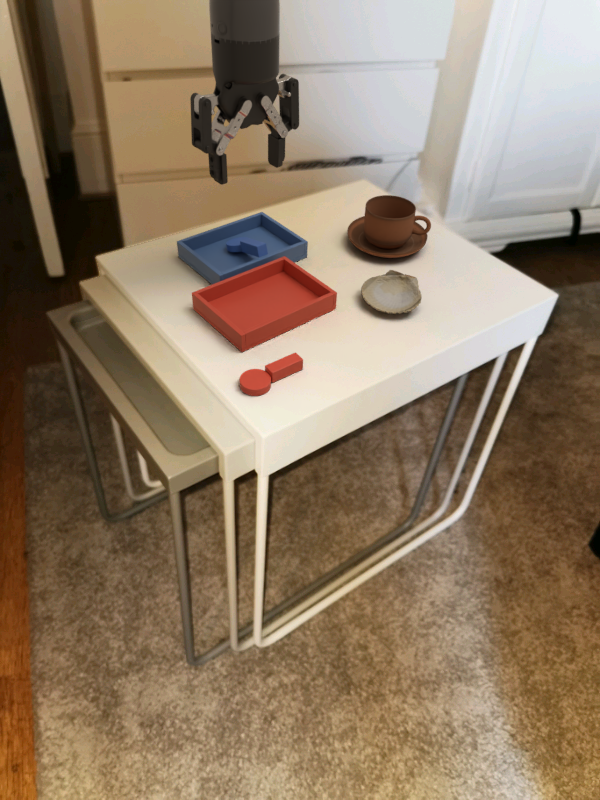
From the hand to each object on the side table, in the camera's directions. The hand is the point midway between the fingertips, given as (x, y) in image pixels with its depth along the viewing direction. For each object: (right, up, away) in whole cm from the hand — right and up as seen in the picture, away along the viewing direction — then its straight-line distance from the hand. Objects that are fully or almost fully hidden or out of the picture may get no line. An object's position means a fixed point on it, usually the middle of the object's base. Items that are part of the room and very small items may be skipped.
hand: (248, 173), depth 80 cm
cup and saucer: (+20, -5, +17) cm, 26 cm away
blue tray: (-2, -8, +13) cm, 15 cm away
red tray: (+2, -17, +4) cm, 17 cm away
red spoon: (+3, -26, -6) cm, 27 cm away
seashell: (+19, -16, +6) cm, 25 cm away
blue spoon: (-1, -7, +11) cm, 13 cm away
